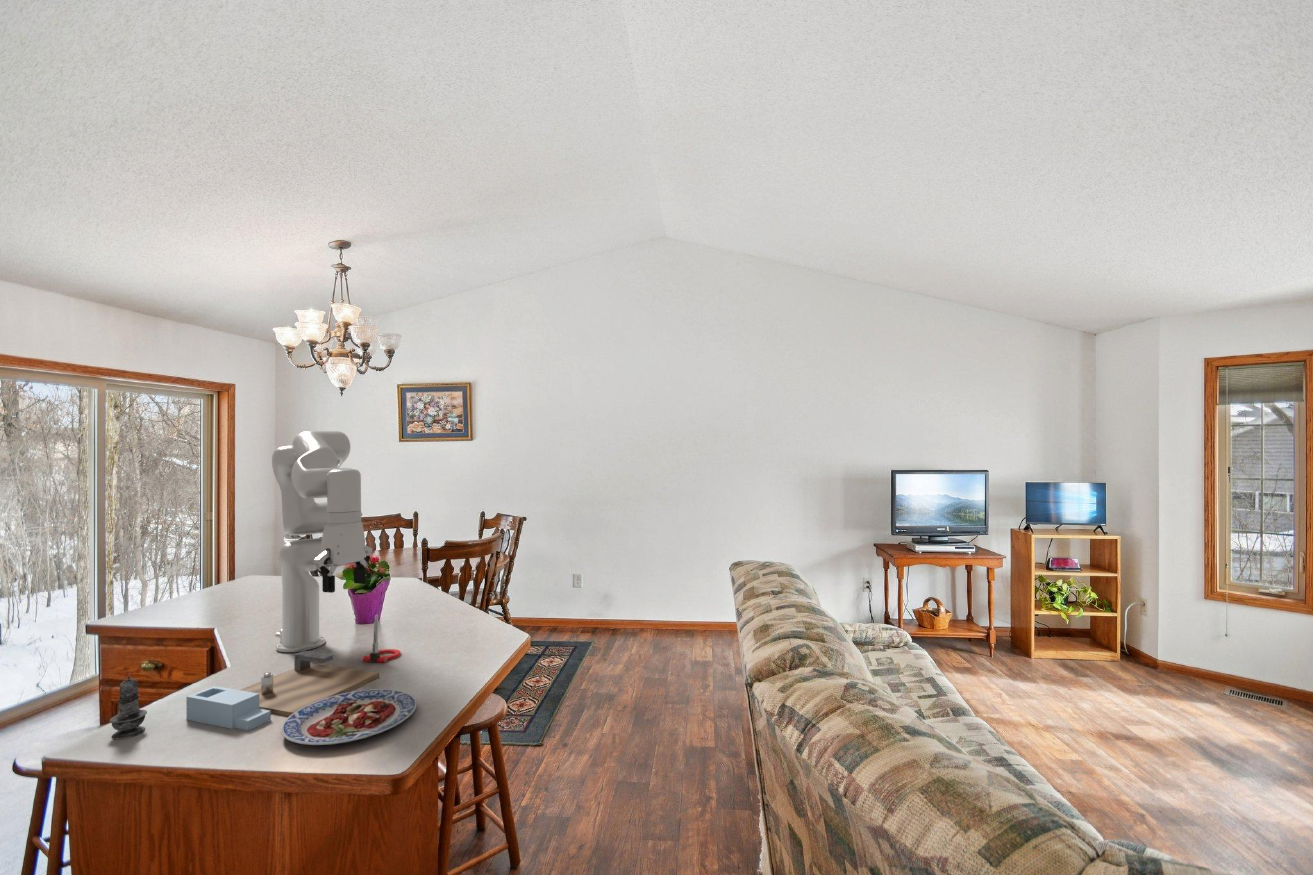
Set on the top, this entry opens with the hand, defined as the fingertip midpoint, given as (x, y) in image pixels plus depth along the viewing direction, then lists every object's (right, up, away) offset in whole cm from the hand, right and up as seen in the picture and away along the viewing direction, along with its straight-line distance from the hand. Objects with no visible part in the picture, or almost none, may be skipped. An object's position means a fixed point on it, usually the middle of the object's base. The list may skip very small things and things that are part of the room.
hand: (344, 587), depth 147 cm
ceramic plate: (+12, -24, -20) cm, 34 cm away
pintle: (-15, -24, -7) cm, 29 cm away
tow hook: (0, -25, +20) cm, 32 cm away
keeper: (-12, -24, +7) cm, 27 cm away
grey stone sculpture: (-33, -25, -24) cm, 47 cm away
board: (-9, -24, -2) cm, 26 cm away
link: (-16, -24, -18) cm, 34 cm away
